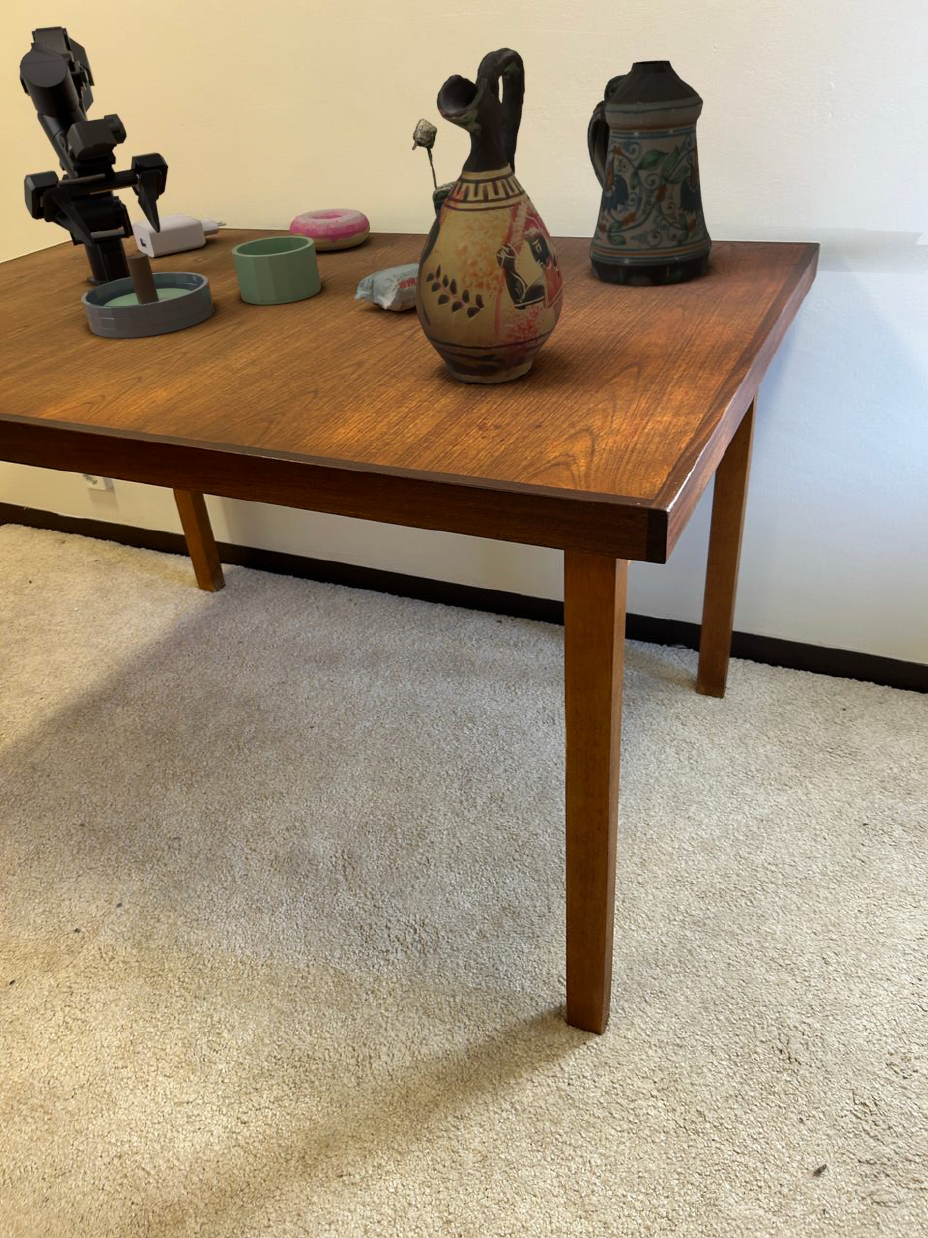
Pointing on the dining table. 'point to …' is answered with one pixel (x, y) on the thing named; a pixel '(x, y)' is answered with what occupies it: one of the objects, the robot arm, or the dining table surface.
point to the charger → (173, 234)
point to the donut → (332, 228)
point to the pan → (148, 307)
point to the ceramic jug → (488, 240)
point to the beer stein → (648, 179)
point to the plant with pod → (426, 139)
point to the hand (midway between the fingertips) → (126, 237)
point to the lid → (144, 284)
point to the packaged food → (390, 288)
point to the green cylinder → (277, 270)
